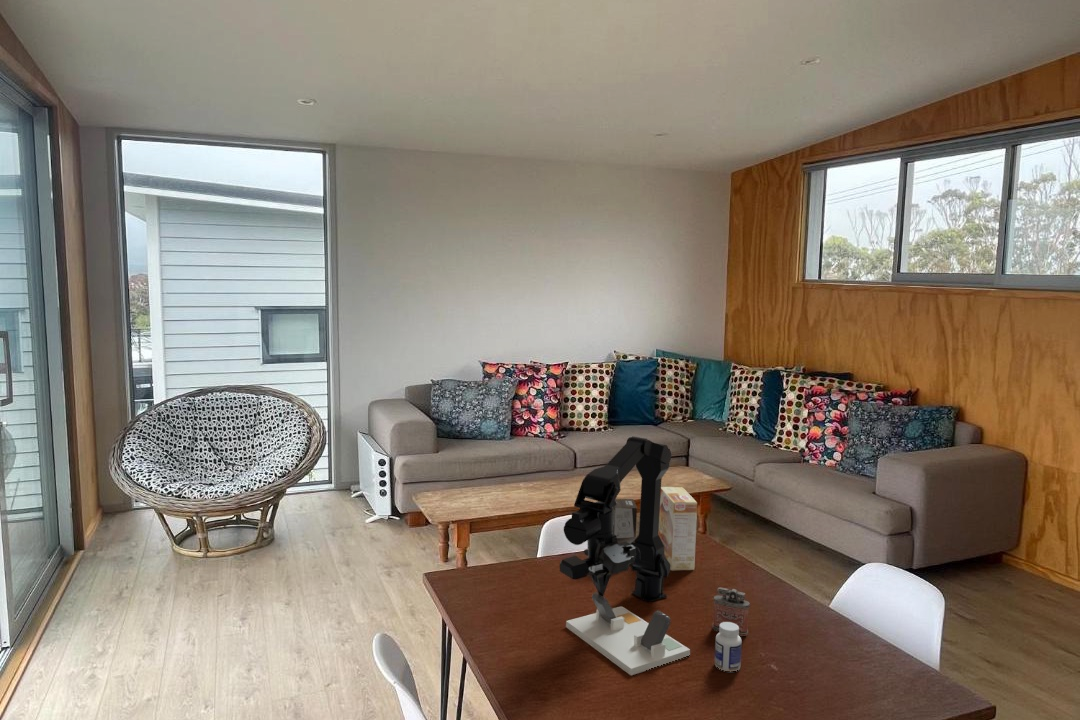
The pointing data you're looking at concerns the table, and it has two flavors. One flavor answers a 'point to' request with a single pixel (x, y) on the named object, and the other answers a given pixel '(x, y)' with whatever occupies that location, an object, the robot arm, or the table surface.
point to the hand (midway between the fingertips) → (601, 595)
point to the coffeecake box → (678, 527)
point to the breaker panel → (630, 639)
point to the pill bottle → (728, 647)
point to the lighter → (731, 609)
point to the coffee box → (625, 520)
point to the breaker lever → (603, 607)
